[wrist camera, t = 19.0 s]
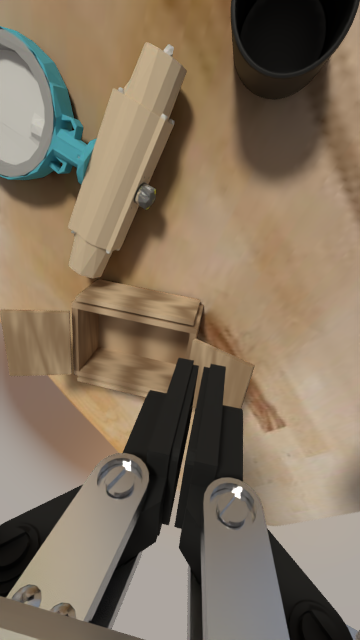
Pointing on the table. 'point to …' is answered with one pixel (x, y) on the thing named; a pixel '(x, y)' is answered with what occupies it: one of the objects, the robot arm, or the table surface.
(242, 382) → the flap
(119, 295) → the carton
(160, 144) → the butterfly valve
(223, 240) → the table surface
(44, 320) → the flap
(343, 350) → the table surface
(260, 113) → the table surface
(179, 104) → the table surface
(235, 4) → the mug
